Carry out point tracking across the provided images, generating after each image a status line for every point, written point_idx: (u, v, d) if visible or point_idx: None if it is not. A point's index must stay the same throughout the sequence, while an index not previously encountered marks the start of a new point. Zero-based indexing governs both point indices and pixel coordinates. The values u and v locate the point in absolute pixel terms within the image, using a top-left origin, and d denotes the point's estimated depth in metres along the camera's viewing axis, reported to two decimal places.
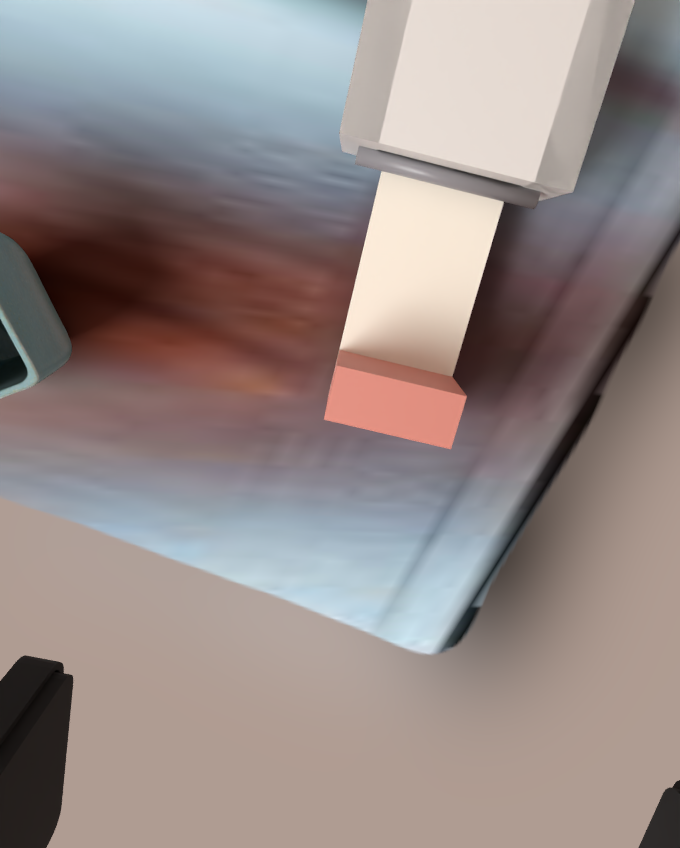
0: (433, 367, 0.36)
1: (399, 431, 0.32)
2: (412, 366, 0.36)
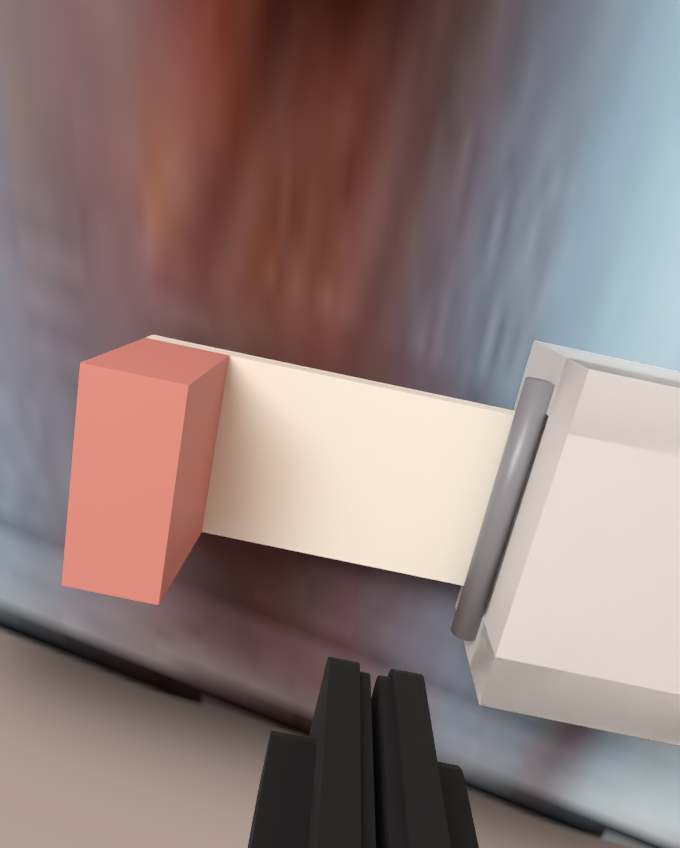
0: (213, 503, 0.23)
1: (79, 500, 0.17)
2: (213, 473, 0.22)
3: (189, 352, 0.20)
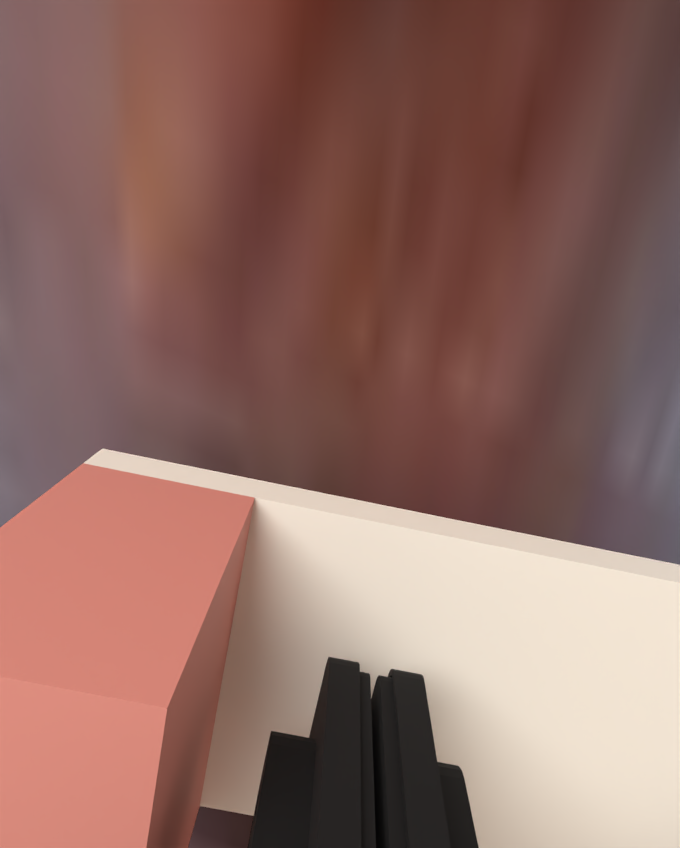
0: (222, 760, 0.12)
1: None
2: (220, 709, 0.12)
3: (173, 505, 0.10)
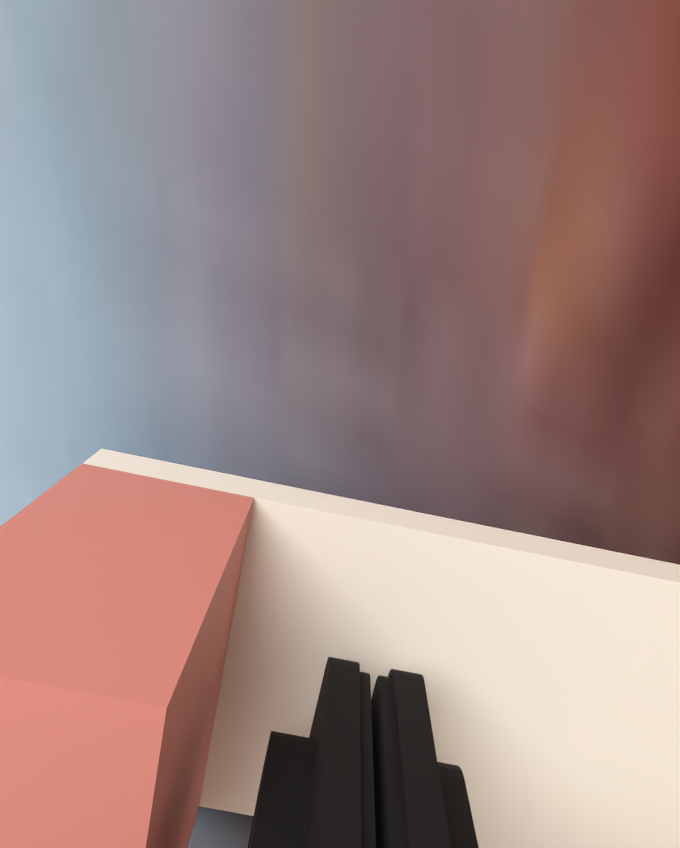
0: (221, 760, 0.12)
1: None
2: (220, 708, 0.12)
3: (172, 505, 0.10)
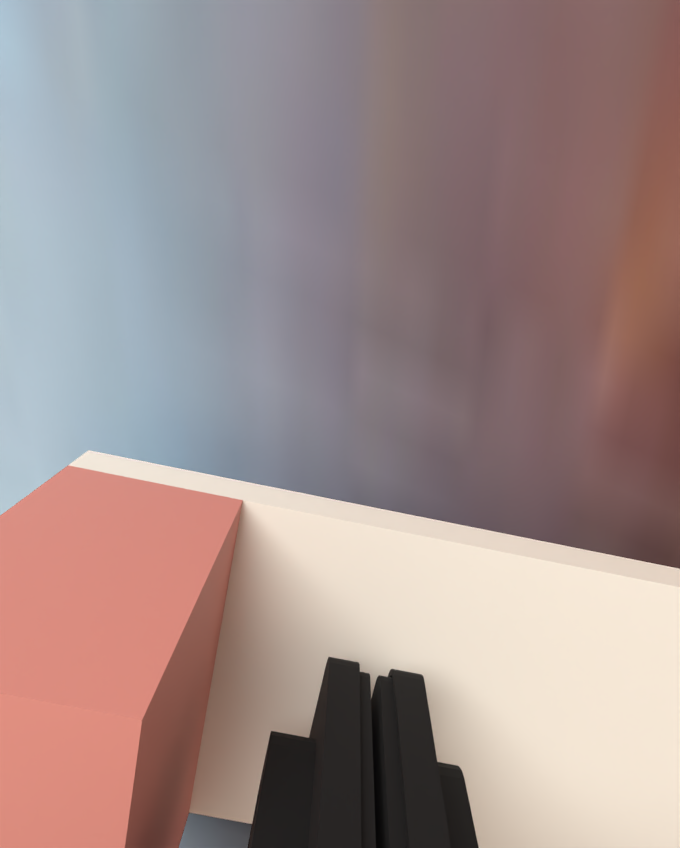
0: (211, 766, 0.12)
1: None
2: (210, 714, 0.12)
3: (158, 508, 0.09)
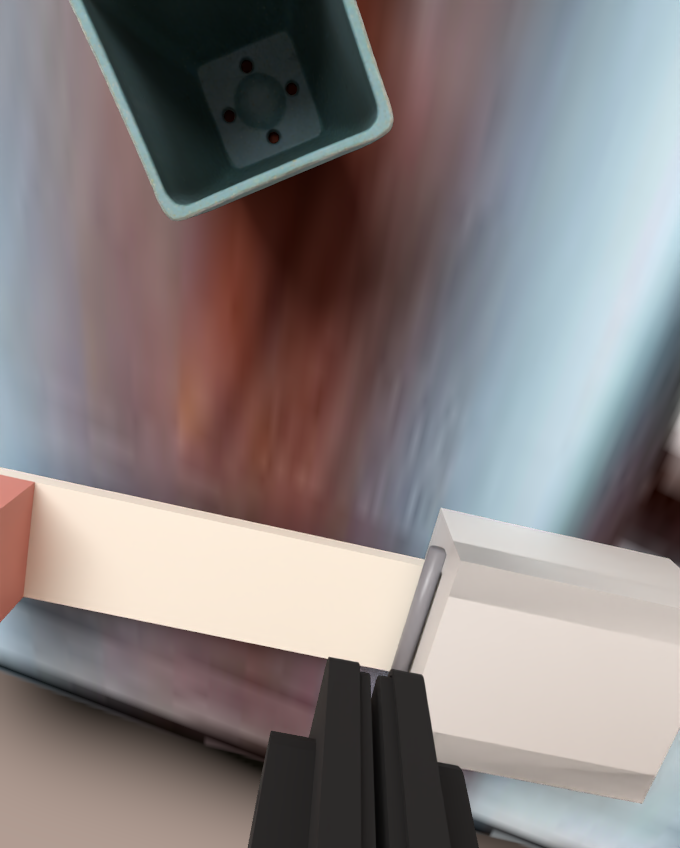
0: (30, 578, 0.33)
1: None
2: (28, 557, 0.32)
3: (3, 483, 0.30)
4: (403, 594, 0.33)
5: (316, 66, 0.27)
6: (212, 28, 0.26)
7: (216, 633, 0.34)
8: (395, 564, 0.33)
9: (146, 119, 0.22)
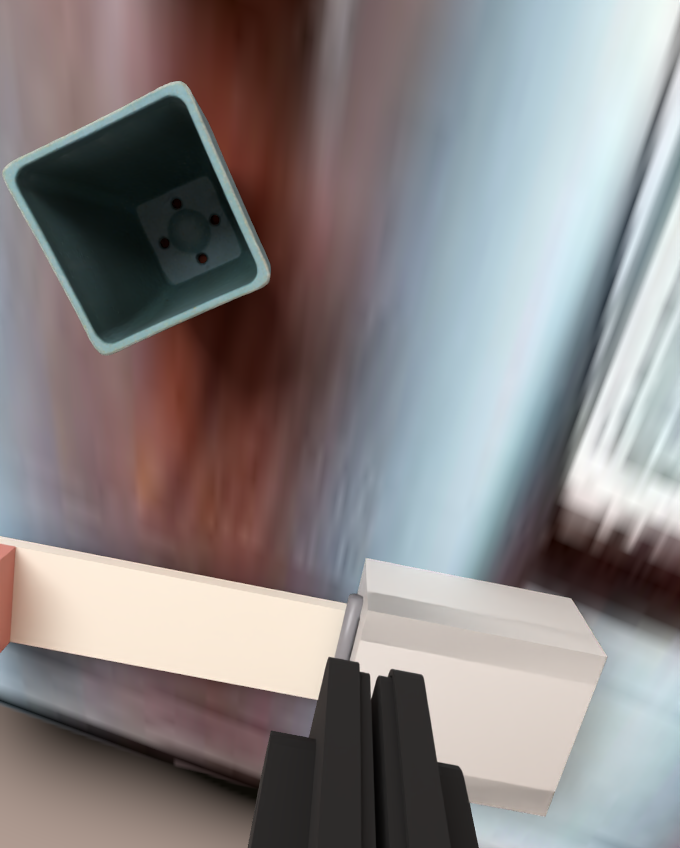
0: (15, 626, 0.39)
1: None
2: (13, 609, 0.38)
3: None
4: (332, 635, 0.38)
5: None
6: (143, 181, 0.32)
7: (174, 670, 0.39)
8: (323, 609, 0.38)
9: (81, 275, 0.28)
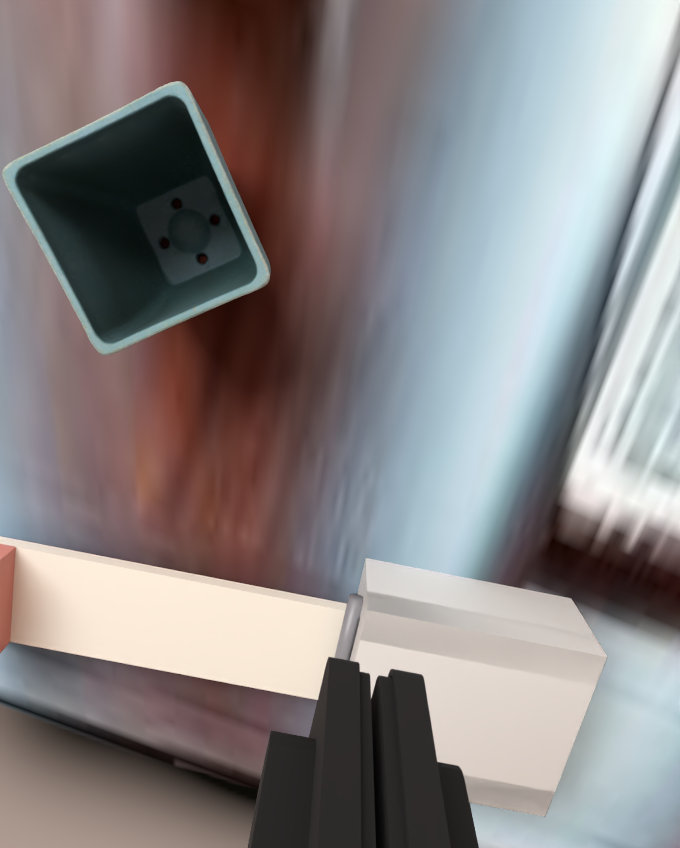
0: (15, 626, 0.39)
1: None
2: (13, 609, 0.38)
3: None
4: (332, 635, 0.38)
5: None
6: (143, 181, 0.32)
7: (174, 670, 0.39)
8: (323, 610, 0.38)
9: (81, 275, 0.28)
